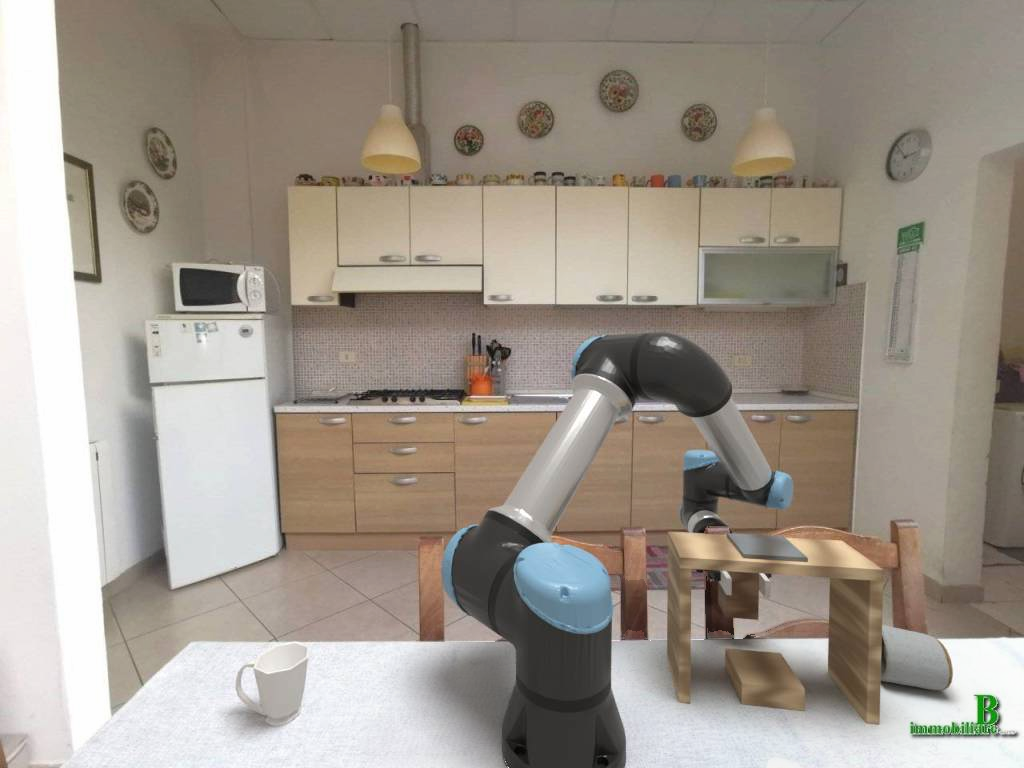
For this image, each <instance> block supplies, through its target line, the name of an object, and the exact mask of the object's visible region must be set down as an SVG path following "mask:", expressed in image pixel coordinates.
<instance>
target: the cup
mask: <svg viewBox="0 0 1024 768" xmlns="http://www.w3.org/2000/svg"><path fill="white" fill-rule="evenodd" d="M310 647H311V646H310V645H308V644H305V643H302V642H300V641H297V640H296V641H289V642H284V643H280V644H274V645H273V646H271V647H270V648H268V649H266V650H265V651H263V652H261V653H260V654H258V655H256V659H255V660H250V661H247V662H246V663H244V664H243V666H241V668H240V669H239V670H238V672H237V675H236V678H235V679H236V680H235V687H234V688H235V691H236V695H237V697H238V698H239V699H240V701H242V702H243V704H244V705H246V706H247V707H249V708H250V709H251V710H253V711H254V712H255V713H257V714H259V715H261V716H266V720H265V723H266V724H268V725H270V726H272V727H274V728H276V727H280V726H284V724H285V725H288V724H287V723H289V724H291V723H292V722H293V721H294V720H295V719H297V718H298V717H299V716H300V715H301V711H300V710H301V709H302V701H303V697H304V692H305V687H306V678H307V672H308V671H307V670H308V662H309V655H310ZM246 668H252V669H253V672H254V677H255V681H256V685H257V691H258V696H259V701H260V704H261V705H260V704H258V703H257V702H255V701H254V700H253V699H252V698H250V697H249V696H248V695H247V694H246V692H245V691H244V690H243V686H242V677H243V673H244V670H245V669H246ZM298 715H299V716H298ZM297 716H298V717H297ZM296 717H297V718H296ZM293 719H294V720H293ZM292 720H293V721H292ZM291 721H292V722H291Z"/></svg>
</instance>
